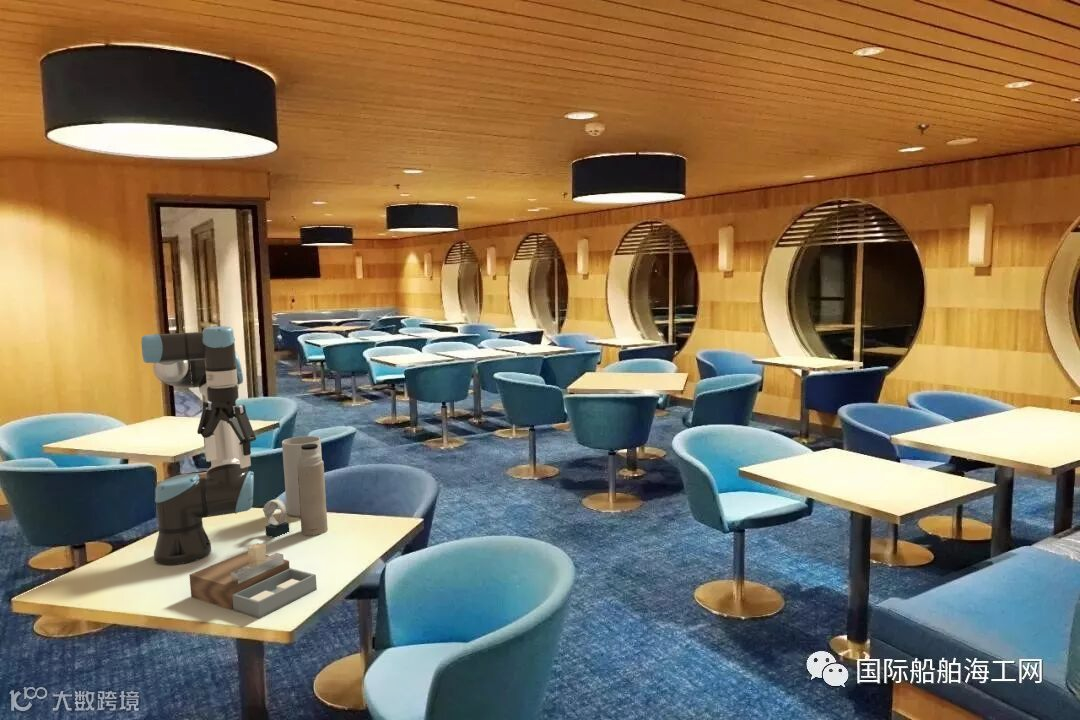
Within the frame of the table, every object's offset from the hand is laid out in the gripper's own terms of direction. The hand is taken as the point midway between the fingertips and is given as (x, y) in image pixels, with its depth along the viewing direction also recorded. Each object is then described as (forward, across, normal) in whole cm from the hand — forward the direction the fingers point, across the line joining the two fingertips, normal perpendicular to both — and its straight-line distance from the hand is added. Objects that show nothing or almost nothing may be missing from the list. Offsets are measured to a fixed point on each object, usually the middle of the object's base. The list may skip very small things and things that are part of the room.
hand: (228, 463), depth 199 cm
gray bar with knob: (+25, +17, -6) cm, 30 cm away
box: (+31, +23, -6) cm, 39 cm away
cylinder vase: (+33, -23, +47) cm, 62 cm away
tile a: (+28, +23, -10) cm, 38 cm away
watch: (+32, -15, +27) cm, 45 cm away
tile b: (+28, +24, -2) cm, 37 cm away
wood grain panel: (+31, +10, -6) cm, 33 cm away
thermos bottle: (+32, -6, +34) cm, 47 cm away
